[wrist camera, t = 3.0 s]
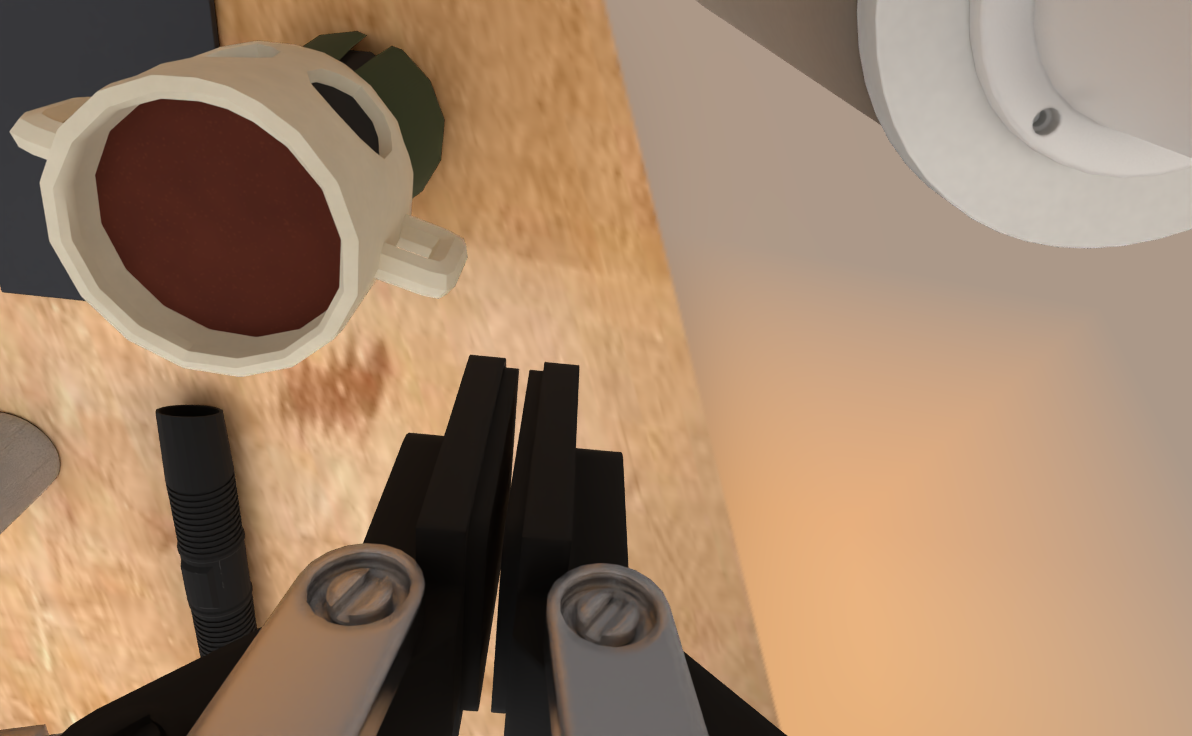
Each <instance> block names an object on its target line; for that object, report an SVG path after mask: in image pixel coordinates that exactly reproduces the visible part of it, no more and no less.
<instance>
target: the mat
mask: <svg viewBox="0 0 1192 736" xmlns="http://www.w3.org/2000/svg"><path fill="white" fill-rule="evenodd" d="M216 48H219V40H218V31H217V23H216V14H215V6H214V0H0V287H1V290H2V292H5V293H15V294H24V295H34V296H44V297H53V298H63V299H73V300H82V301H86V300H85V299H84V298H82V297H81V295H80V293H79V292H78V290H77V288H76V287H75V285H74V283H73V281H72V280H71V278H70V276H69V274H68V273H67V271H66V269H65V267H64V266H63V264H62V262H61V261H60V259H59V257H58V255H57V254H56V252H55V250H54V248H53V247H52V245H51V243H50V242H49V236H48V230H47V224H46V218H45V212H44V206H43V200H42V194H41V188H40V180H41V176H42V173H43V170H44V167H45V164H46V161H47V160H46V159H44V158H41V157H38V156H35V155H33V154H31V153H29V152H27V151H25V150H24V149H22V148H20V147H18V145H17V143H16V141H15V140H14V138H13V136H12V135H11V133H10V130H11V129H12V127H13V126H14V125H15V123H16V122H17V121H18V119H19V118H20V117H21V116H22V115H23V114H24V113H25V112H27V111H31V110H34V109H37V108H41V107H44V106H48V105H51V104H54V103H58V102H61V101H65V100H68V99H71V98H77V97H92V96H93V95H94V94H95V93H96V92H97V91H99V90H100V89H102V88H104V87H105V86H107V85H109V84H110V83H113V82H117V81H120V80H123V79H127V78H130V77H133V76H136V75H139V74H141V73H143V72H145V71H147V70H149V69H151V68H153V67H156V66H158V65H160V64H163V63H167V62H172V61H177V60H182V59H187V58H192V57H194V56H197V55H200V54H202V53H205V52H208V51H211V50H213V49H216Z"/></svg>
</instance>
